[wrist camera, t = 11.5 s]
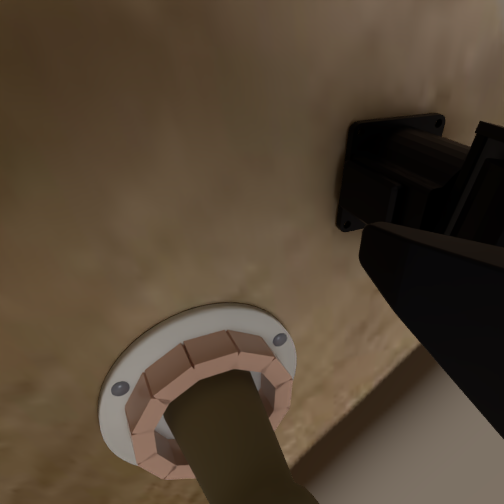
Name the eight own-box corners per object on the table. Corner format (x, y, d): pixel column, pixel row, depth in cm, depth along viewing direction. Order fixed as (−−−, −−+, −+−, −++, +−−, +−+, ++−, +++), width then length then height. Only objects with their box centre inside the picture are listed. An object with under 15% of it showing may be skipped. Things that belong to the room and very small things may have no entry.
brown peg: (235, 424, 30) (319, 597, 22) (150, 435, 27) (211, 641, 18) (263, 356, 28) (371, 518, 19) (176, 358, 25) (257, 552, 16)
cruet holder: (297, 281, 27) (321, 306, 25) (285, 418, 34) (303, 448, 32) (78, 337, 22) (85, 374, 20) (114, 484, 29) (122, 524, 27)
